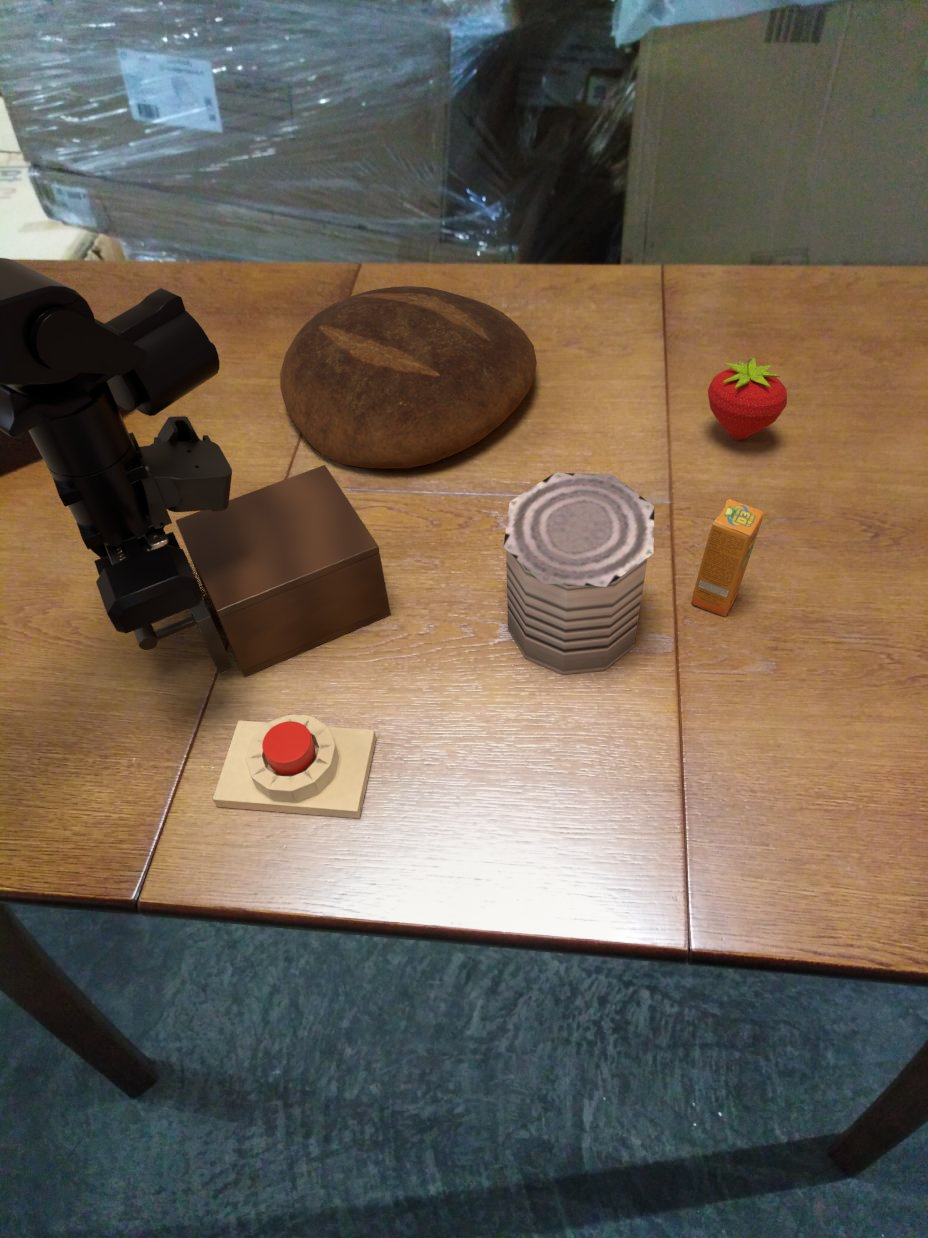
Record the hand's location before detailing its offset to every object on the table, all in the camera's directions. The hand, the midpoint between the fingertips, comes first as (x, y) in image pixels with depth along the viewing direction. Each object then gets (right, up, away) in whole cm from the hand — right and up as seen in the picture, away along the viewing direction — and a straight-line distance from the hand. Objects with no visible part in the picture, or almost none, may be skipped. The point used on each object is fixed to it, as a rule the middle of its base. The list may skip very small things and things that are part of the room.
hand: (160, 600), depth 72 cm
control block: (+12, -13, -4) cm, 18 cm away
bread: (+18, +23, +26) cm, 40 cm away
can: (+34, -2, +4) cm, 34 cm away
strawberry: (+52, +17, +18) cm, 58 cm away
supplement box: (+46, 0, +5) cm, 47 cm away
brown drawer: (+5, -1, +6) cm, 8 cm away
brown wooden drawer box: (+9, 0, +8) cm, 12 cm away
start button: (+12, -12, -6) cm, 17 cm away
